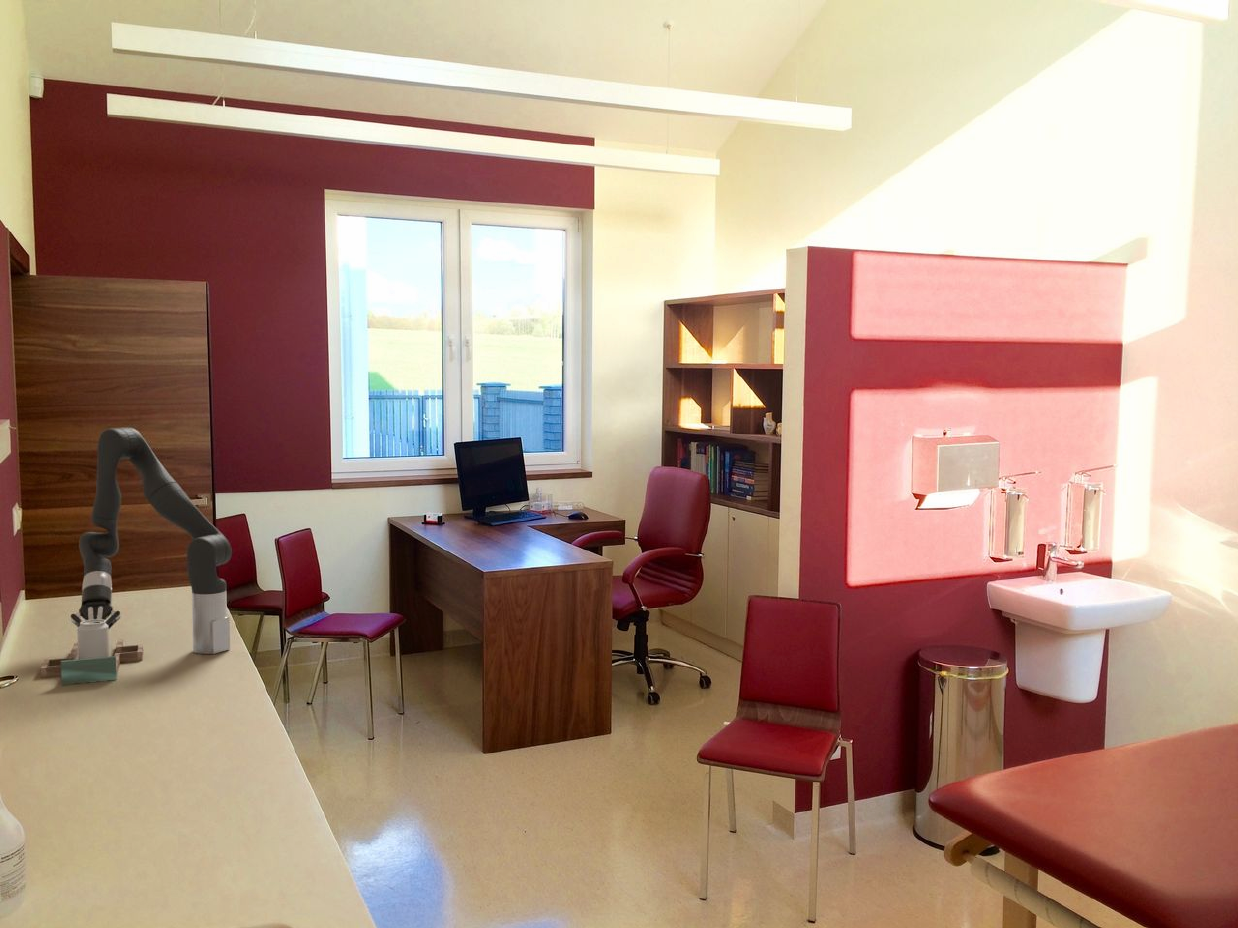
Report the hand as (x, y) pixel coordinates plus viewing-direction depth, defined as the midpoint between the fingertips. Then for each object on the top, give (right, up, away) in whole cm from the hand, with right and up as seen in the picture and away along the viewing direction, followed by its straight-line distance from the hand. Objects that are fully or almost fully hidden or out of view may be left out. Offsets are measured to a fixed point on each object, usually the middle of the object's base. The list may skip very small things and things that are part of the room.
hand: (94, 643), depth 275 cm
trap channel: (+2, -5, -3) cm, 6 cm away
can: (+2, -5, -4) cm, 7 cm away
